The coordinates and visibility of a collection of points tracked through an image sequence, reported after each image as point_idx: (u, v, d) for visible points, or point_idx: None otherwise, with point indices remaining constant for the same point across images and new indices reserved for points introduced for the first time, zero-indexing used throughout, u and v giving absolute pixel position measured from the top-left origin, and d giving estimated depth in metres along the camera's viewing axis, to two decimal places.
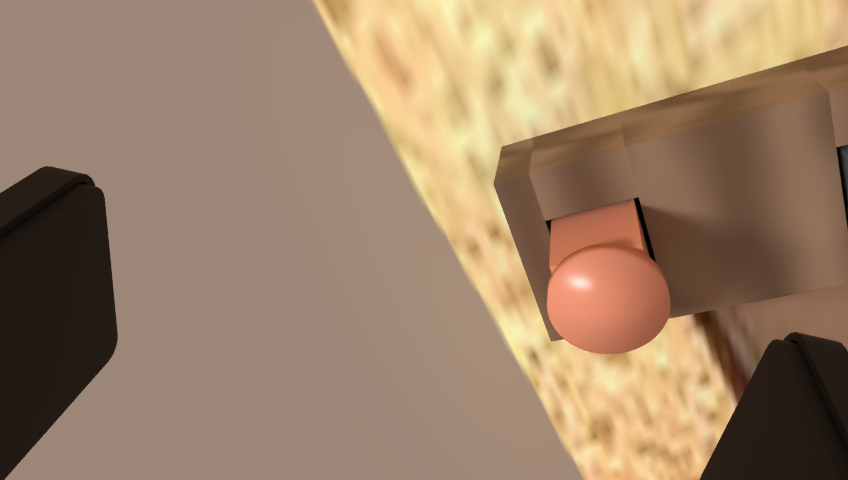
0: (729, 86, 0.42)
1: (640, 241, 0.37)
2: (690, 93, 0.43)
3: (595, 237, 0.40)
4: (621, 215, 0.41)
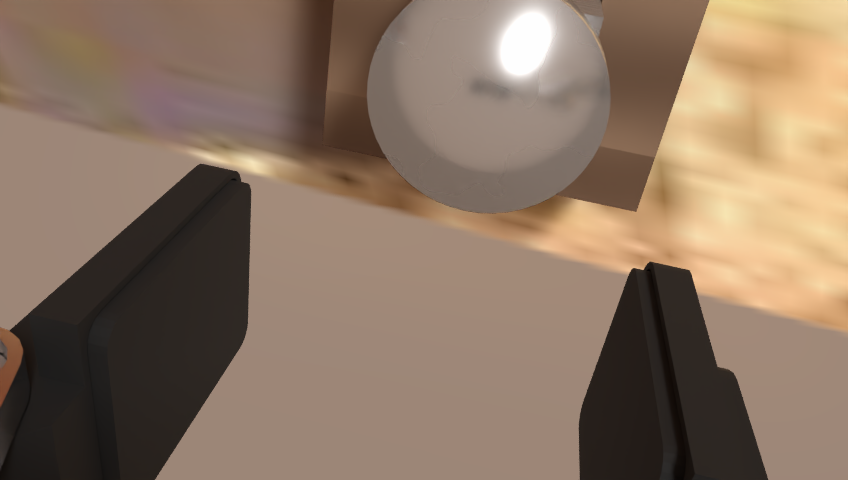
0: None
1: None
2: None
3: None
4: None
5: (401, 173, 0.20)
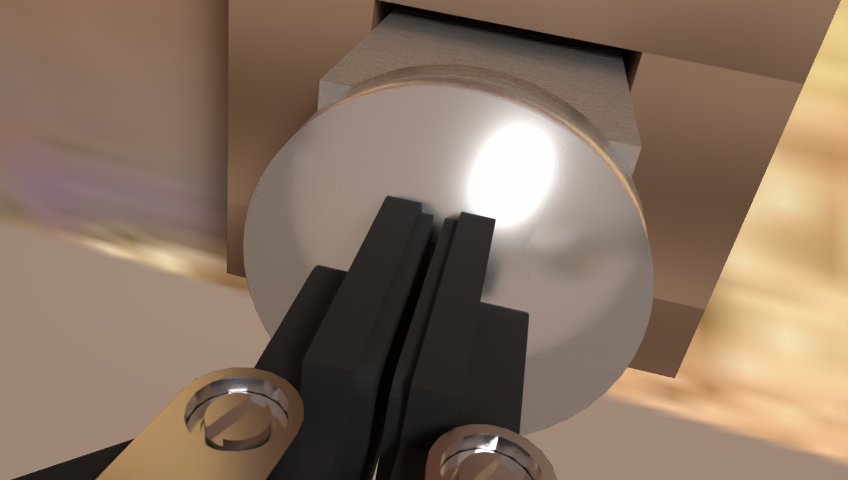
0: None
1: None
2: None
3: None
4: None
5: None
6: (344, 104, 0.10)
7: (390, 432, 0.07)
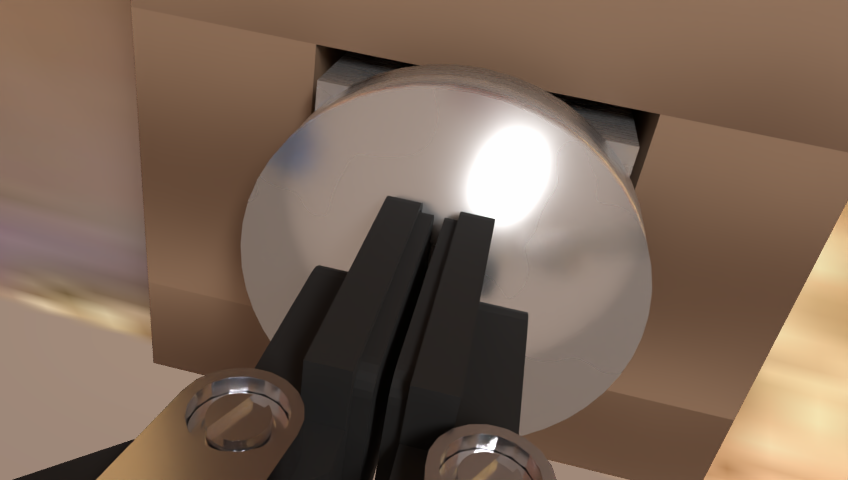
0: None
1: None
2: None
3: None
4: None
5: None
6: (341, 104, 0.10)
7: (389, 432, 0.07)
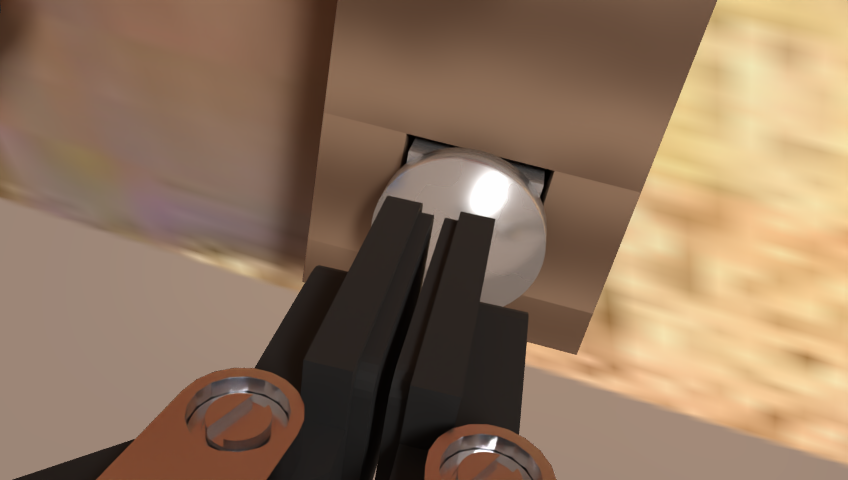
0: None
1: None
2: None
3: None
4: None
5: None
6: (423, 164, 0.24)
7: (389, 432, 0.07)
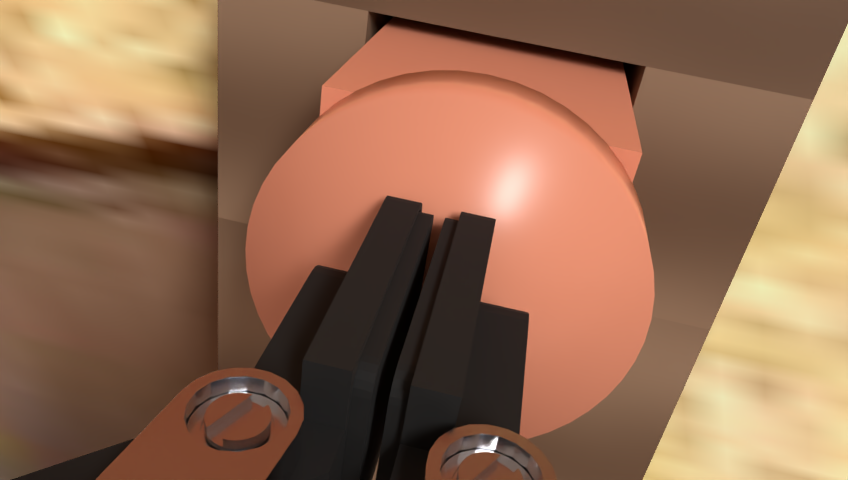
0: None
1: None
2: None
3: None
4: None
5: None
6: None
7: (390, 432, 0.07)
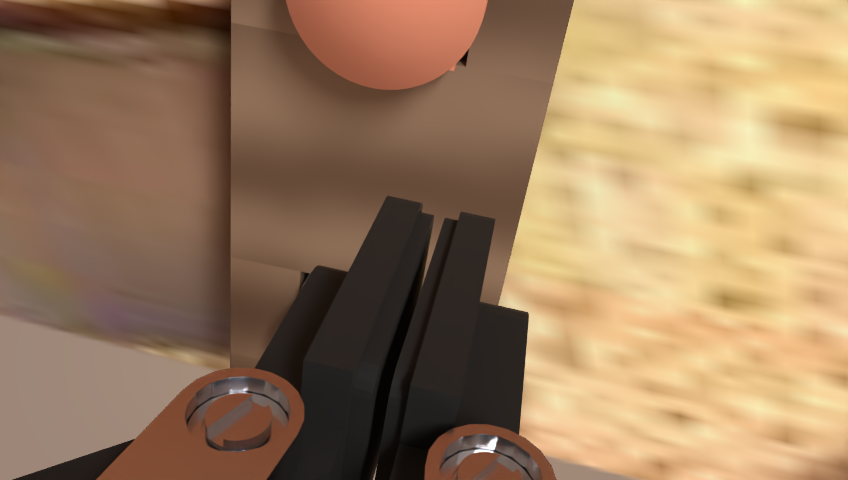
0: None
1: (455, 65, 0.24)
2: None
3: None
4: None
5: None
6: None
7: (389, 432, 0.07)
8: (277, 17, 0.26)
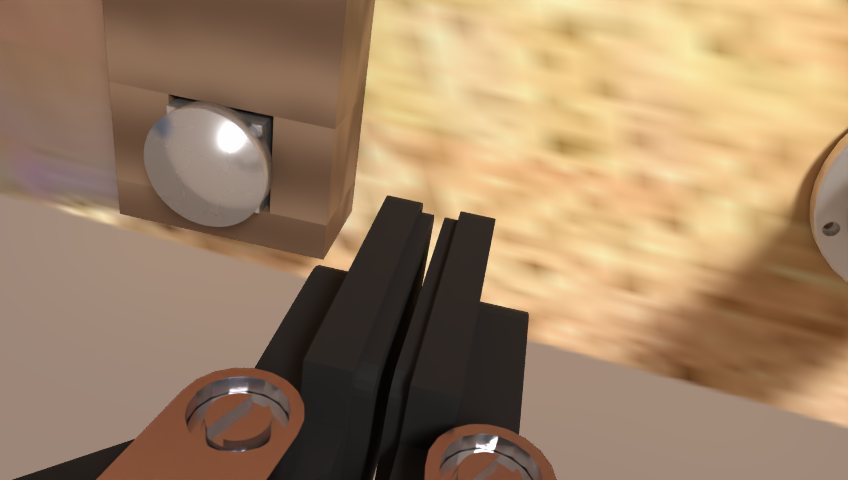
0: (367, 28, 0.38)
1: None
2: None
3: None
4: None
5: (169, 205, 0.37)
6: (168, 113, 0.34)
7: (389, 432, 0.07)
8: None
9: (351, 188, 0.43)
